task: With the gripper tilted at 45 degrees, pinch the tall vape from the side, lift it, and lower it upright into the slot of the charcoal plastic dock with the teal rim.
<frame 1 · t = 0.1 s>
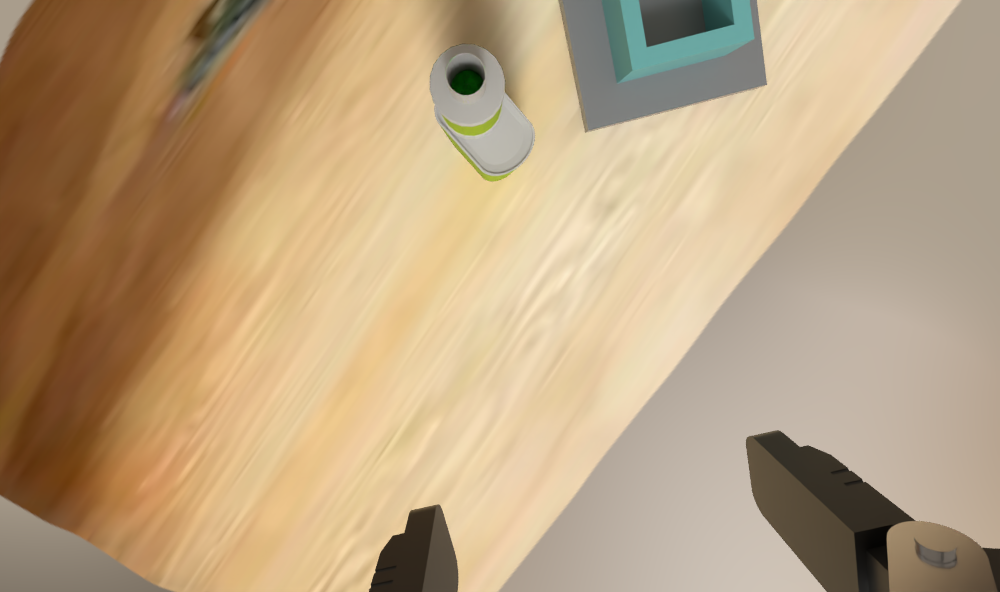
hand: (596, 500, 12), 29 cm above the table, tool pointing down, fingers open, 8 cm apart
dock: (653, 1, 37), on the table
vape: (484, 145, 39), on the table
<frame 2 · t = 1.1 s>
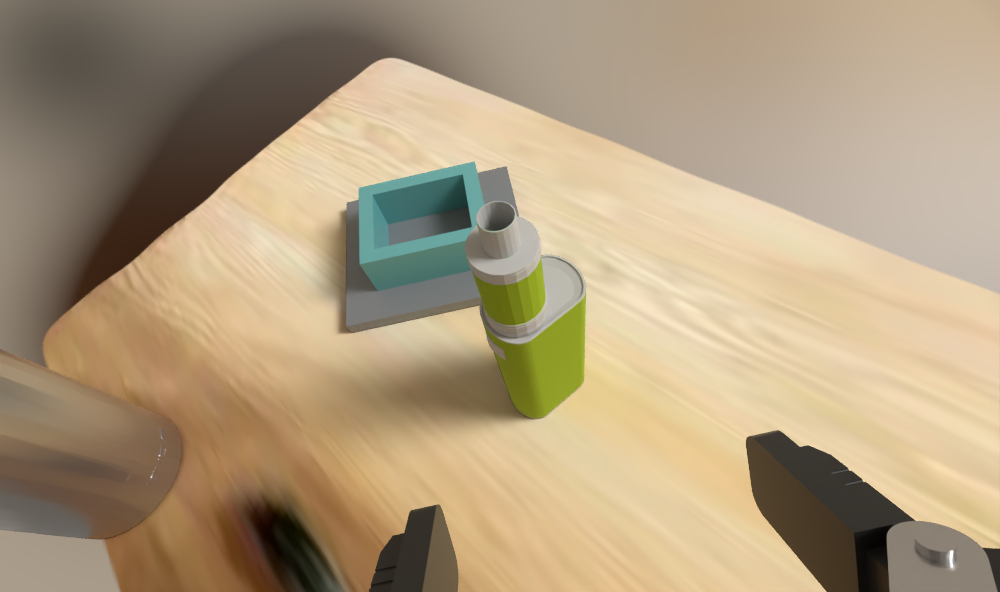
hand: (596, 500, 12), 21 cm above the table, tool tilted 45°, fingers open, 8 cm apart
dock: (435, 248, 44), on the table
vape: (545, 385, 36), on the table
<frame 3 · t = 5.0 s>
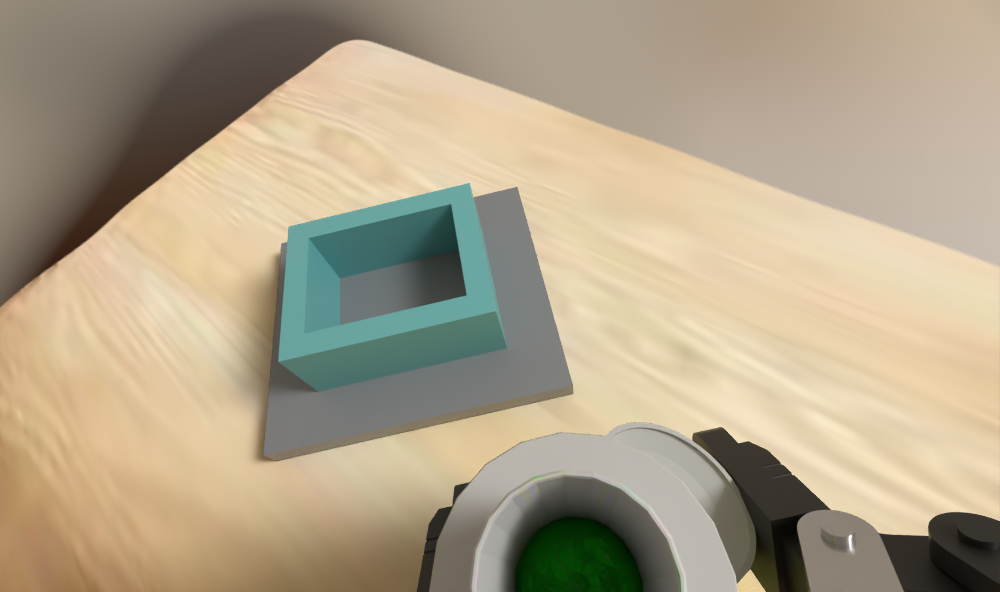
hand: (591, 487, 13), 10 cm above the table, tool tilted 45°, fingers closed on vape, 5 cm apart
dock: (412, 314, 29), on the table
vape: (598, 573, 21), on the table, touching gripper
when the fingers open (13 cm above the table, at t = 11.3 s): vape drops 2 cm, resting on dock.
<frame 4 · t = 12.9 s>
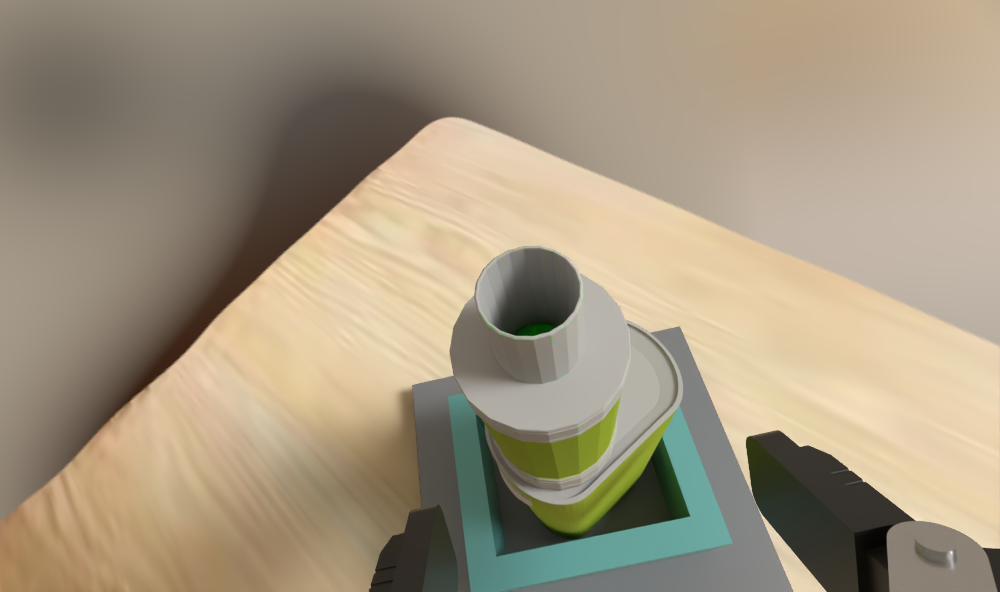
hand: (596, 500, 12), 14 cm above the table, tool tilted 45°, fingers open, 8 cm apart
dock: (575, 483, 25), on the table
vape: (582, 481, 24), point 1 cm above the table, touching dock
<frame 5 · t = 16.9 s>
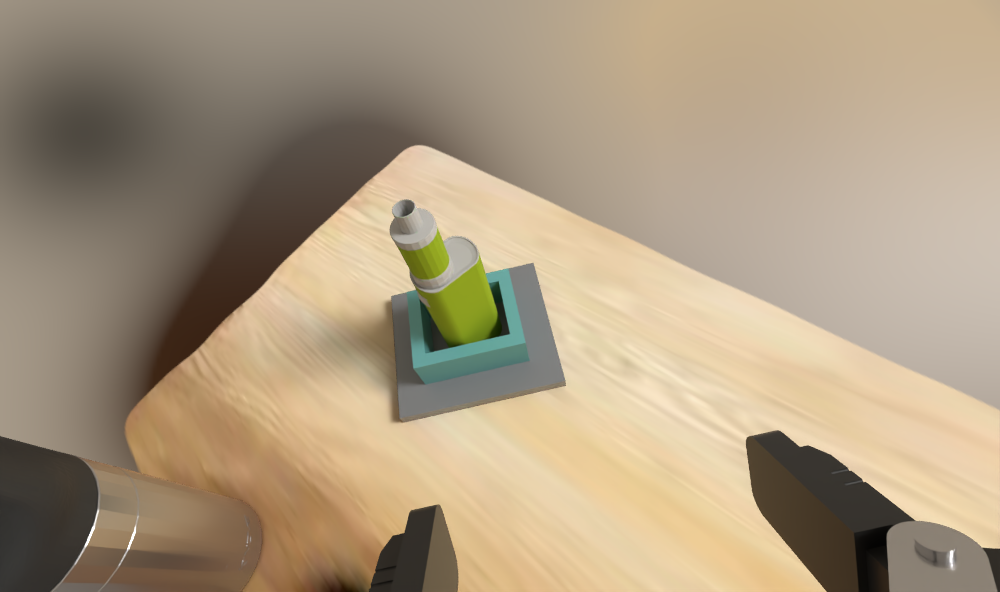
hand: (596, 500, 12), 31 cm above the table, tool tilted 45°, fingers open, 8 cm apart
dock: (473, 340, 50), on the table
vape: (474, 336, 49), point 1 cm above the table, touching dock
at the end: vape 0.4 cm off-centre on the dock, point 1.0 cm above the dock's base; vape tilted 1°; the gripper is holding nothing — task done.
